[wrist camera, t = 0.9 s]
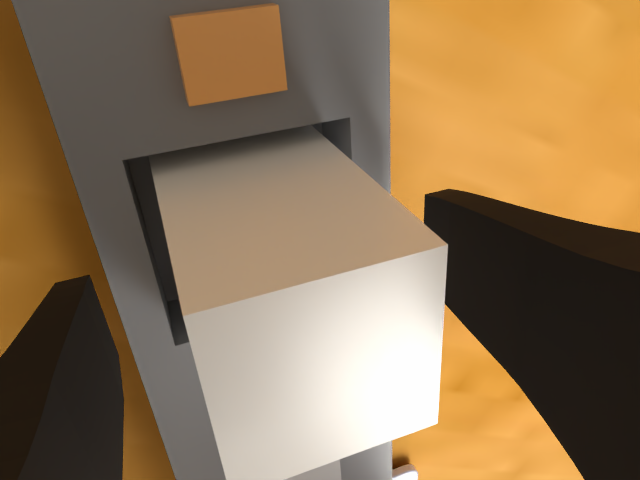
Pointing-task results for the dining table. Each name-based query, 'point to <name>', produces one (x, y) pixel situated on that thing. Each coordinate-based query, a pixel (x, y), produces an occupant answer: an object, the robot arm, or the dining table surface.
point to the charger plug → (301, 300)
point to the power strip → (195, 130)
